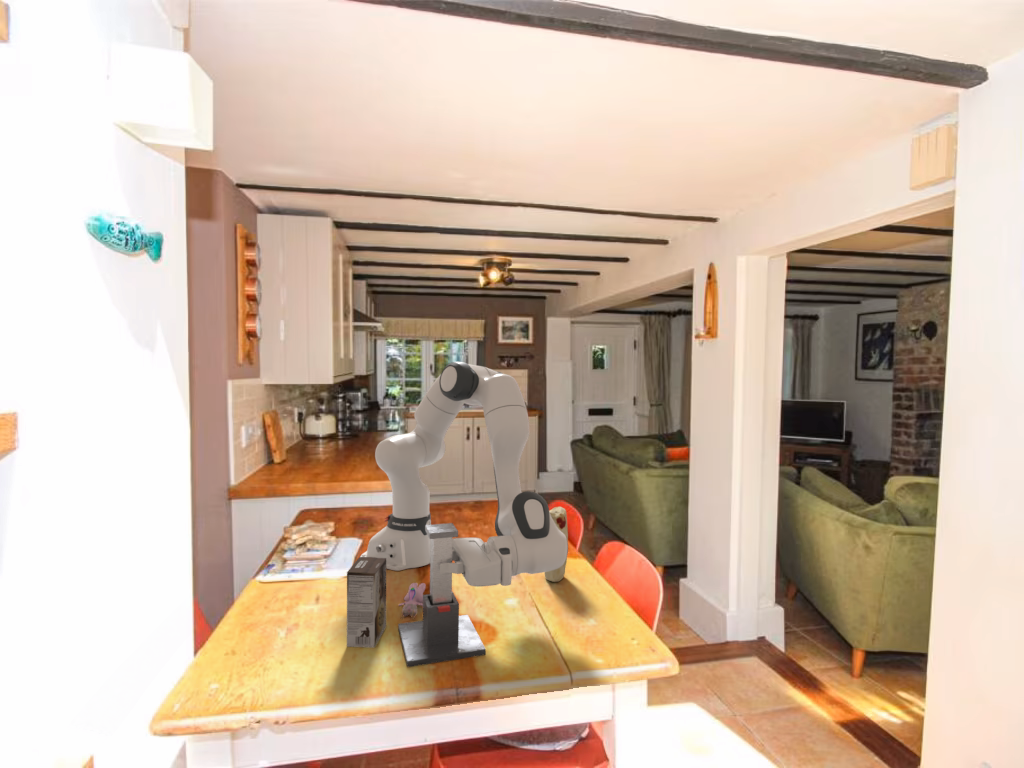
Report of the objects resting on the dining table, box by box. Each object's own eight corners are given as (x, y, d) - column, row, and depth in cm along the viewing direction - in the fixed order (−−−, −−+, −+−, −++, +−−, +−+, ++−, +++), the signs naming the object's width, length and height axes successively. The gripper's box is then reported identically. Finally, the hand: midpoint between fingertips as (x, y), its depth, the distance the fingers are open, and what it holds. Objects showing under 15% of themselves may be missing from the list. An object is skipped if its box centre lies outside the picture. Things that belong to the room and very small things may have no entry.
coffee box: (358, 626, 121) (359, 556, 121) (387, 627, 121) (387, 556, 121) (345, 647, 112) (345, 571, 112) (375, 648, 112) (376, 572, 111)
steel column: (428, 634, 111) (429, 533, 111) (424, 620, 117) (425, 525, 116) (456, 630, 113) (458, 531, 112) (451, 617, 119) (452, 523, 118)
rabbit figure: (420, 626, 125) (431, 589, 139) (420, 603, 124) (431, 568, 138) (394, 625, 125) (407, 589, 140) (393, 602, 124) (407, 568, 138)
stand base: (407, 667, 105) (407, 621, 105) (398, 629, 120) (398, 588, 120) (485, 654, 110) (486, 610, 110) (467, 619, 125) (468, 580, 125)
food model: (565, 586, 146) (567, 513, 145) (541, 584, 147) (542, 511, 146) (568, 572, 155) (569, 504, 155) (545, 570, 156) (546, 503, 156)
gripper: (486, 528, 128) (428, 533, 124) (513, 558, 109) (446, 565, 105) (485, 554, 129) (428, 560, 124) (512, 588, 109) (446, 597, 105)
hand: (436, 563), depth 114 cm, fingers closed on steel column, 4 cm apart
